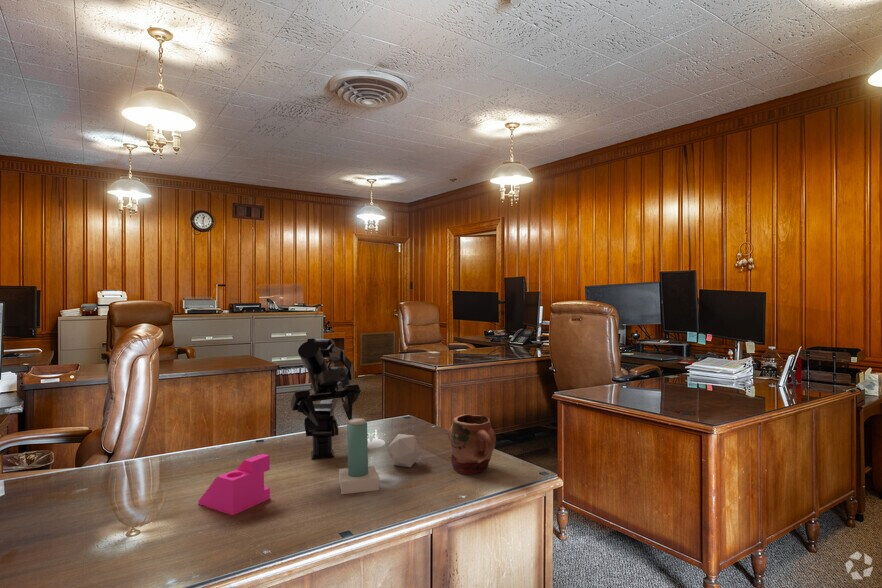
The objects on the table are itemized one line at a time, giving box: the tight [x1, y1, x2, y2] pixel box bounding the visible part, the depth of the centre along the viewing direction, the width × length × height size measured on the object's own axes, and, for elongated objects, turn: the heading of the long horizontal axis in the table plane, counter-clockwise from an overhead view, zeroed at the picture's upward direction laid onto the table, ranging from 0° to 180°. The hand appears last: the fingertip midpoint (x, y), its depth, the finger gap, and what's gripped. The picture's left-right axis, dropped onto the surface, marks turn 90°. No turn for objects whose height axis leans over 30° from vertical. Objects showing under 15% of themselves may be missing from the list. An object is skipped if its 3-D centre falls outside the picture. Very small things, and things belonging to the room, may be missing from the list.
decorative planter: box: [447, 413, 497, 475], centre depth 136 cm, size 20×12×14 cm, turn 29°
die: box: [386, 433, 422, 468], centre depth 141 cm, size 8×9×10 cm
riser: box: [338, 465, 380, 495], centre depth 126 cm, size 9×9×3 cm
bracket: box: [197, 453, 271, 516], centre depth 117 cm, size 12×10×10 cm
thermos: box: [346, 417, 369, 477], centre depth 126 cm, size 5×5×13 cm
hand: (334, 422), depth 135 cm, fingers open, 9 cm apart
